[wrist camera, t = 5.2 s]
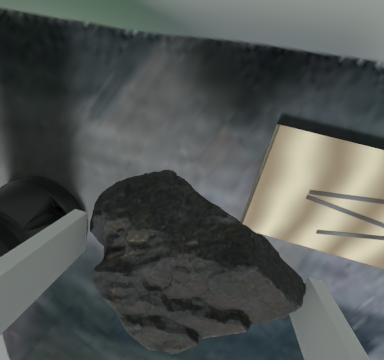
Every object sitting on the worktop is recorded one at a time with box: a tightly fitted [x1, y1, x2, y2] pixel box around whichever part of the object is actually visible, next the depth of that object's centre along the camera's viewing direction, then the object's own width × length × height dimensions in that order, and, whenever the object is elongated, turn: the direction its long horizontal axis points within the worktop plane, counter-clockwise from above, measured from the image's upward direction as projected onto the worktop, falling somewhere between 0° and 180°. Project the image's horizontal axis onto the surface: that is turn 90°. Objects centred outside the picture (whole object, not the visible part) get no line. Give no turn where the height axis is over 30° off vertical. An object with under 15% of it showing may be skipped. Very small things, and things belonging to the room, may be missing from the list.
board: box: [241, 124, 384, 269], centre depth 24 cm, size 26×14×2 cm, turn 77°
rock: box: [90, 170, 306, 354], centre depth 12 cm, size 10×6×10 cm
